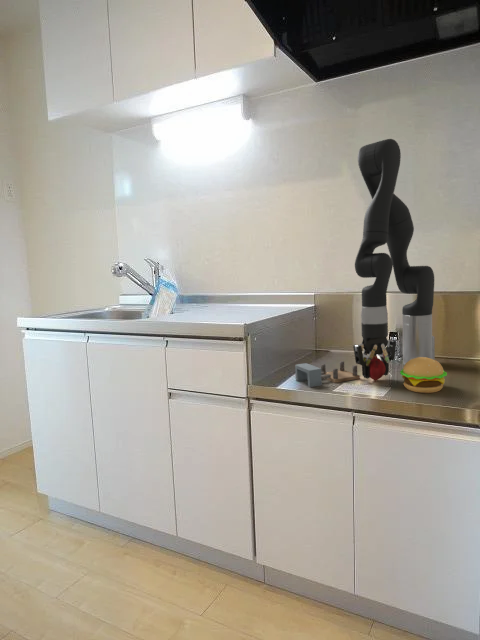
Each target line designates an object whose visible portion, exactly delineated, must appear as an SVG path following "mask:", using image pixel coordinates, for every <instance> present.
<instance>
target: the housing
mask: <svg viewBox="0 0 480 640" xmlns="http://www.w3.org/2000/svg"><path fill="white" fill-rule="evenodd" d="M294 367H295V368H294V369H295V372H294V373H295V381H296V382H300V381H301V382H302V381H306V380H307V386H308V387H309V388H312V387H313V388H314V387H319V386H322V385H323V384H322V383H323V379H321V367H318V366H315V365H314V364H313V365H312V364H310V363H306V362H305V363H298V364H295V365H294Z"/></svg>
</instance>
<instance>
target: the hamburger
mask: <svg viewBox="0 0 480 640" xmlns="http://www.w3.org/2000/svg"><path fill="white" fill-rule="evenodd" d="M399 373H400V375H401V377H402V379H404V382H403V385H404V387H405V389H406V390H408V391H410V392H416V393H424V394H430V393H431V394H432V393H437V392H440V391H441V390H442V389H443V387H444V384H445V383H446V379H445V377H447V375H448V373H447V371H445V370H444V368H443V366H442V364H441V363H440V362H439V361H437V360H436V359H435V360H433V359H430V358H427V357H418V358H414V359H411V360H409V361H408V362H407V363H406V364H405V365H403V368H402V369H401V370H400V371H399Z"/></svg>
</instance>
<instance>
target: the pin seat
mask: <svg viewBox="0 0 480 640" xmlns="http://www.w3.org/2000/svg"><path fill="white" fill-rule="evenodd" d="M351 368H352V372H351V371H348V370H345V361H344V360H341V361H339V370H338V368H337V367H336V368H332V371H327V370H326V363H321V364H320V369H321V379H322V380H327V381H328V382H329V381H330V382H332V383H334V384H335V383H337V384H338V383H342V382H348V381H355V380H360V378H361V375H359V374H358V364H356V365H355V364H354V365H352V367H351ZM326 371H327V372H326Z"/></svg>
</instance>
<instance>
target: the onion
mask: <svg viewBox="0 0 480 640" xmlns="http://www.w3.org/2000/svg"><path fill="white" fill-rule="evenodd" d="M369 366H370V378H369V379H371V380H373V381H375V382H376V381H379V380H380V379H381V378H382V377H384V376H385V375H384V373H385V370H386V368H385V365H384V363H383V362H382V361H381V359H380V357H378V354H377V355H375V356H373V358H372V359H371V361H370V363H369Z"/></svg>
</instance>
